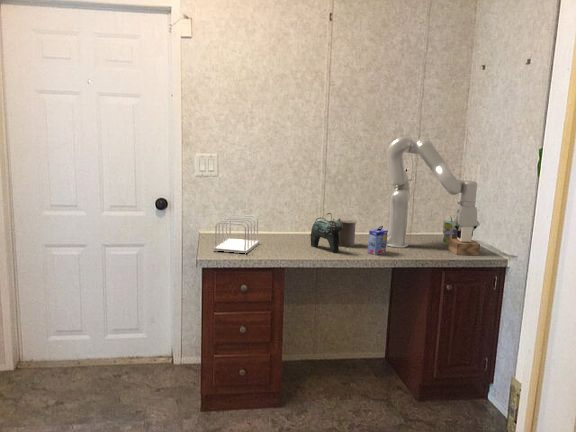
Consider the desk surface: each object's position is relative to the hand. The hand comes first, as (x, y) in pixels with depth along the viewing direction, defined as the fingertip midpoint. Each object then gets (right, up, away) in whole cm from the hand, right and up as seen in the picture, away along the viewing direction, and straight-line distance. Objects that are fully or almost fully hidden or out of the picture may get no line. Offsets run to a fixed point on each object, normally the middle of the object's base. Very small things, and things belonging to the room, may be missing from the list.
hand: (464, 237), depth 269 cm
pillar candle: (-63, -5, +9) cm, 63 cm away
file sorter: (-121, -6, -4) cm, 121 cm away
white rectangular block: (0, -2, 0) cm, 2 cm away
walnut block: (0, -8, +1) cm, 8 cm away
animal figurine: (-75, -7, -2) cm, 75 cm away
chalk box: (+2, -4, +28) cm, 28 cm away
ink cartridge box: (-48, -8, -6) cm, 49 cm away
